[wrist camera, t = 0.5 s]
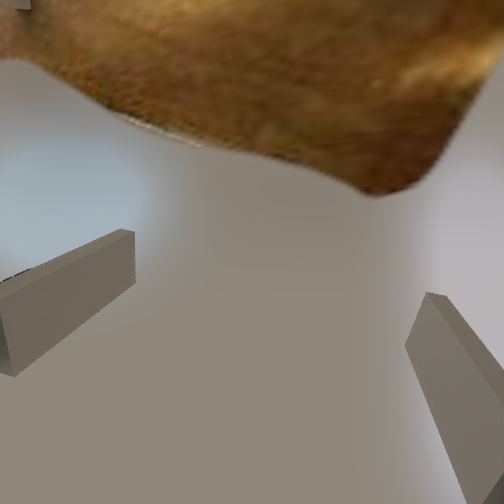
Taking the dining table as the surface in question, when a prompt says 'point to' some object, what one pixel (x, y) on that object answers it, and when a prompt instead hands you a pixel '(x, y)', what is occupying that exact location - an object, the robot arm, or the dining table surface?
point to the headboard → (17, 4)
